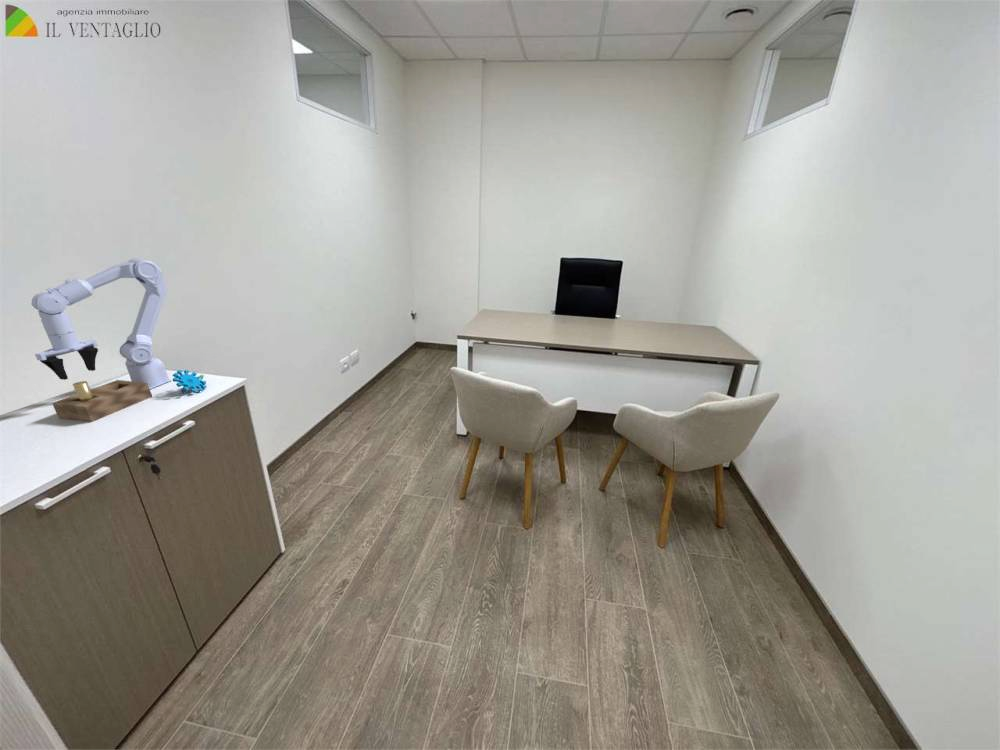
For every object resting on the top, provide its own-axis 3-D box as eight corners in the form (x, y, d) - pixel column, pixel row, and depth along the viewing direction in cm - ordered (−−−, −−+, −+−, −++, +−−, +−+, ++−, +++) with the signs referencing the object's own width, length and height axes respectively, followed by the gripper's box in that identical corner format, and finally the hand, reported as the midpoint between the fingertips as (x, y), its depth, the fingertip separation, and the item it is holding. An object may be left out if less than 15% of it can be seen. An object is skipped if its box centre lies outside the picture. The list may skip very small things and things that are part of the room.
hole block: (122, 393, 134) (117, 380, 132) (152, 396, 132) (147, 382, 130) (58, 418, 117) (51, 403, 115) (91, 421, 115) (85, 406, 113)
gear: (191, 393, 130) (167, 372, 129) (181, 405, 132) (157, 384, 130) (216, 384, 141) (194, 365, 140) (207, 395, 142) (185, 376, 141)
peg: (93, 410, 122) (81, 380, 118) (101, 411, 122) (89, 381, 118) (82, 415, 119) (69, 384, 116) (91, 415, 119) (78, 385, 115)
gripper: (41, 340, 112) (61, 384, 117) (98, 327, 125) (113, 367, 130) (22, 339, 113) (42, 382, 118) (80, 326, 127) (95, 366, 132)
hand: (78, 374), depth 124 cm, fingers open, 7 cm apart
